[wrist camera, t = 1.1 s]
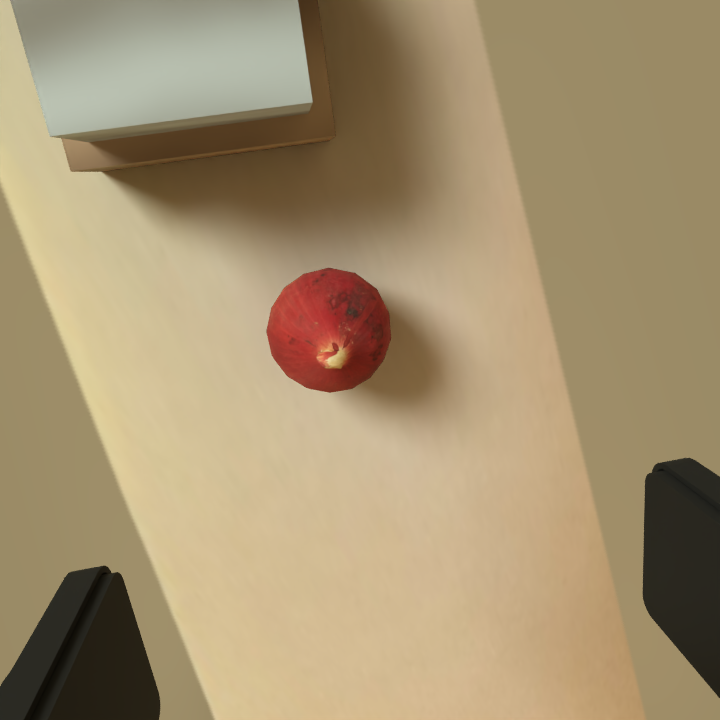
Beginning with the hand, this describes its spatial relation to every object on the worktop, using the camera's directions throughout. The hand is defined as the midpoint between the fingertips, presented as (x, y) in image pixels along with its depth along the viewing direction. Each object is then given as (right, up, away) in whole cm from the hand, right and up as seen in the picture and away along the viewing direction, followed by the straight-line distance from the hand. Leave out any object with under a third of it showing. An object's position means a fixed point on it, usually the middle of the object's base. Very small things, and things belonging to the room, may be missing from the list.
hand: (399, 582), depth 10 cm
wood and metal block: (-8, +19, +16) cm, 26 cm away
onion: (-3, +7, +21) cm, 22 cm away
